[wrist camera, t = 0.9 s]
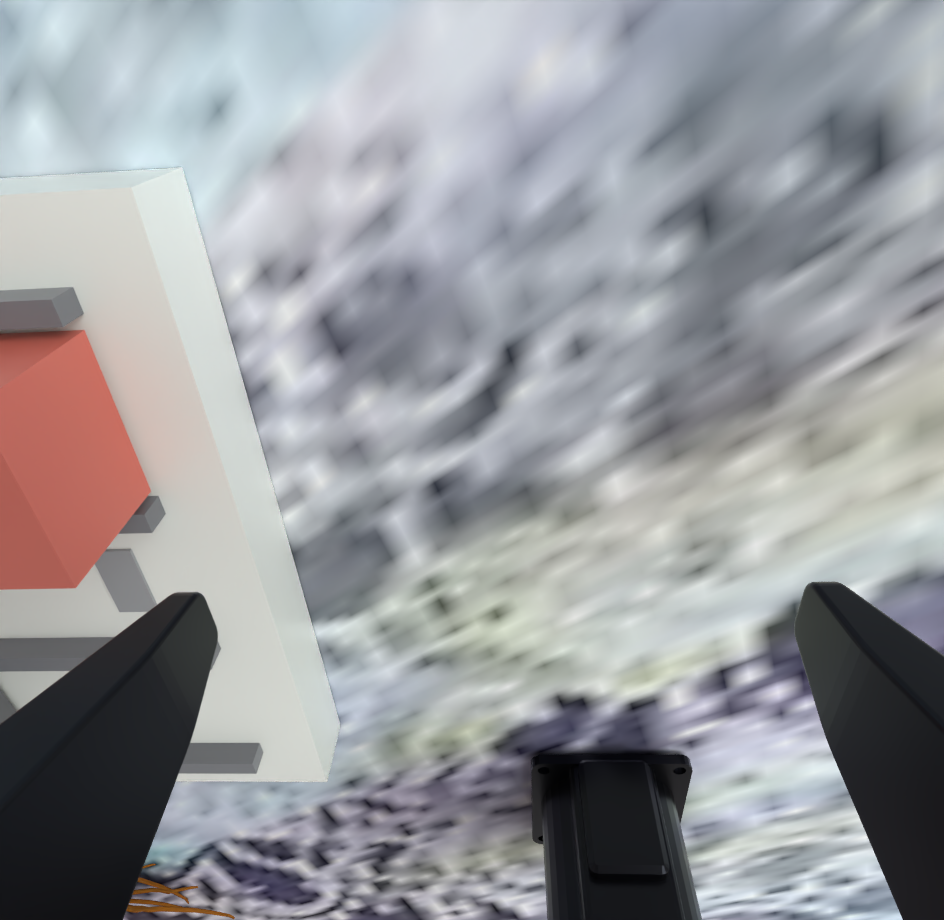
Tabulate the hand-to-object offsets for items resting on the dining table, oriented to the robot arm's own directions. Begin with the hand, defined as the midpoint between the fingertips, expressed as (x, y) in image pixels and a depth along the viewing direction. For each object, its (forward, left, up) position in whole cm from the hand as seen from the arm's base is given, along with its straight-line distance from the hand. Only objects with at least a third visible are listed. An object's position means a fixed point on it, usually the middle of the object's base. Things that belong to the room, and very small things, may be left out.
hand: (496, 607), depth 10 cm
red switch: (0, +11, -6) cm, 13 cm away
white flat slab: (-3, +15, -9) cm, 18 cm away
